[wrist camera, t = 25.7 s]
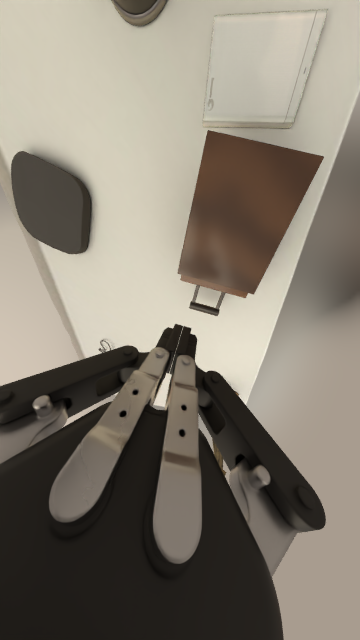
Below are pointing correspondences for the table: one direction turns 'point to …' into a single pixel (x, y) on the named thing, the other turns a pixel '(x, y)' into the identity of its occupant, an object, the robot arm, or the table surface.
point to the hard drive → (260, 67)
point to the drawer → (213, 286)
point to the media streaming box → (51, 203)
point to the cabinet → (242, 209)
